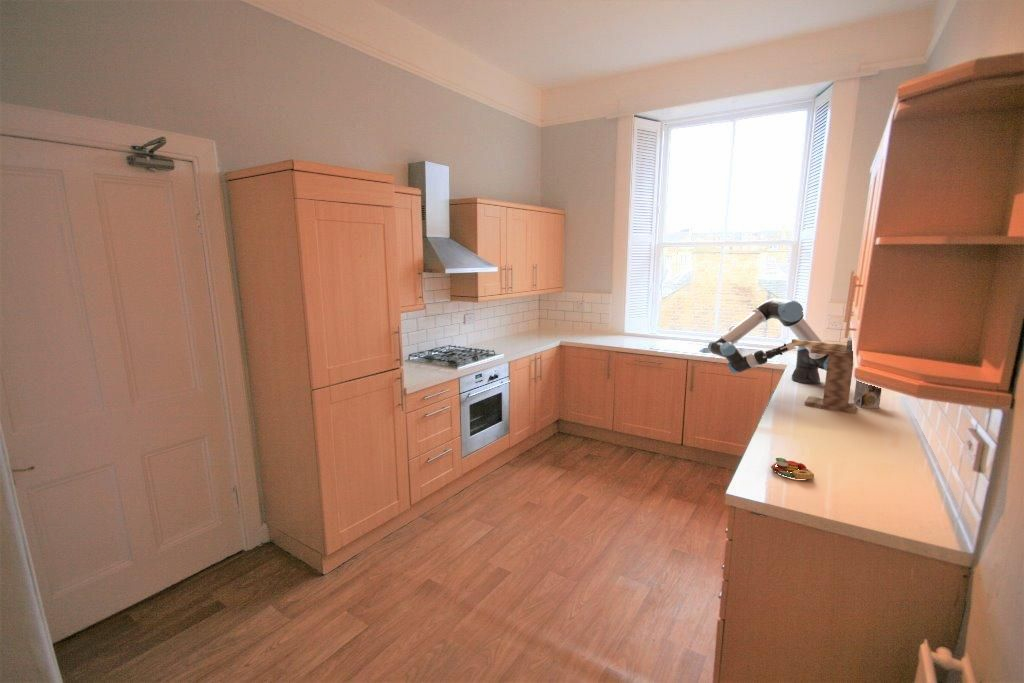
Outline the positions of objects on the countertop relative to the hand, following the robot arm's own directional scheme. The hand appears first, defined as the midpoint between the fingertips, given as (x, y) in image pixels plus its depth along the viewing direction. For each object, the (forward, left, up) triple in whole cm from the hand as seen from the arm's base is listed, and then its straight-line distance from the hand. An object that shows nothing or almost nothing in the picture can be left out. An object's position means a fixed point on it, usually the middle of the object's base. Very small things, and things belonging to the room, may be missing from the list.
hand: (797, 343), depth 244 cm
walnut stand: (-8, +16, -31) cm, 36 cm away
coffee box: (-25, +23, -31) cm, 46 cm away
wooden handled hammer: (-5, +10, -1) cm, 12 cm away
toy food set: (+81, +56, -31) cm, 104 cm away
